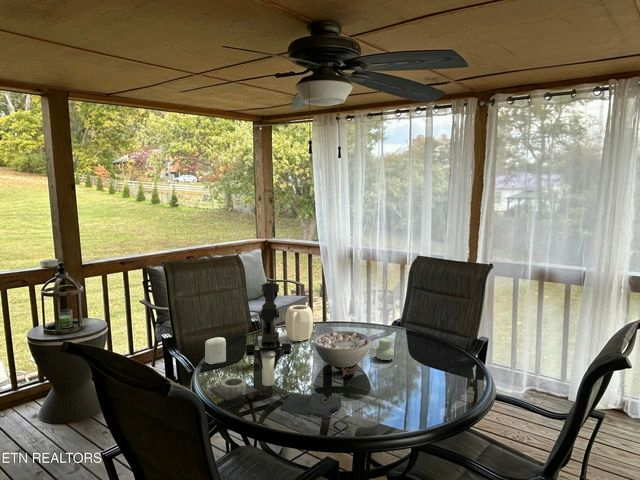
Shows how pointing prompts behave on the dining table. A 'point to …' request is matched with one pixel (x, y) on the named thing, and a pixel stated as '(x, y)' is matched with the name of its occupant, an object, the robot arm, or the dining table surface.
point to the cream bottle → (268, 368)
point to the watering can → (299, 322)
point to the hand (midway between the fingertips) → (268, 368)
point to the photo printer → (215, 350)
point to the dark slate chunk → (312, 404)
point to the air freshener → (384, 349)
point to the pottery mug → (349, 370)
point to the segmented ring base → (233, 388)
